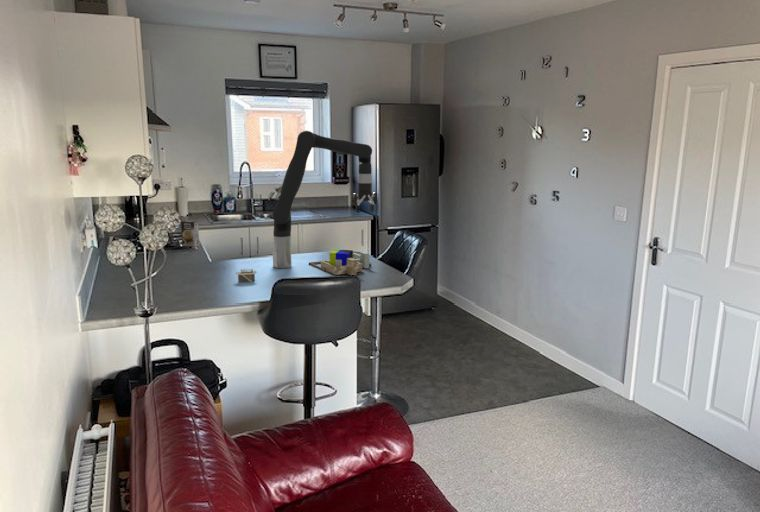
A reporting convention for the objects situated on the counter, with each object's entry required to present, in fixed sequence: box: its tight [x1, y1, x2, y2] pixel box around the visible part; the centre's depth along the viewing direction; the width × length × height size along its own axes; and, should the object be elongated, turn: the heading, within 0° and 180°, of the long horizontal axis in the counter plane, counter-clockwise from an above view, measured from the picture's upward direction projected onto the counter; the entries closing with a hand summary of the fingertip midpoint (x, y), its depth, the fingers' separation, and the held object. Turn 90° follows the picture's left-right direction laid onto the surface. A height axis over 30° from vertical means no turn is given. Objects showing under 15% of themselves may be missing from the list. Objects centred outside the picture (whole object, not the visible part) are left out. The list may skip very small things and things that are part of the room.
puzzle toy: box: [329, 249, 354, 267], centre depth 301 cm, size 10×10×10 cm
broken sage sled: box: [353, 251, 370, 269], centre depth 315 cm, size 9×22×8 cm, turn 32°
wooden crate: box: [235, 268, 258, 283], centre depth 275 cm, size 12×18×7 cm, turn 108°
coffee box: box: [180, 219, 200, 247], centre depth 363 cm, size 9×6×16 cm
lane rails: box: [308, 260, 372, 272], centre depth 314 cm, size 29×19×1 cm, turn 122°
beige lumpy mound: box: [320, 258, 363, 276], centre depth 298 cm, size 16×23×8 cm
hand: (364, 212), depth 306 cm, fingers open, 8 cm apart
